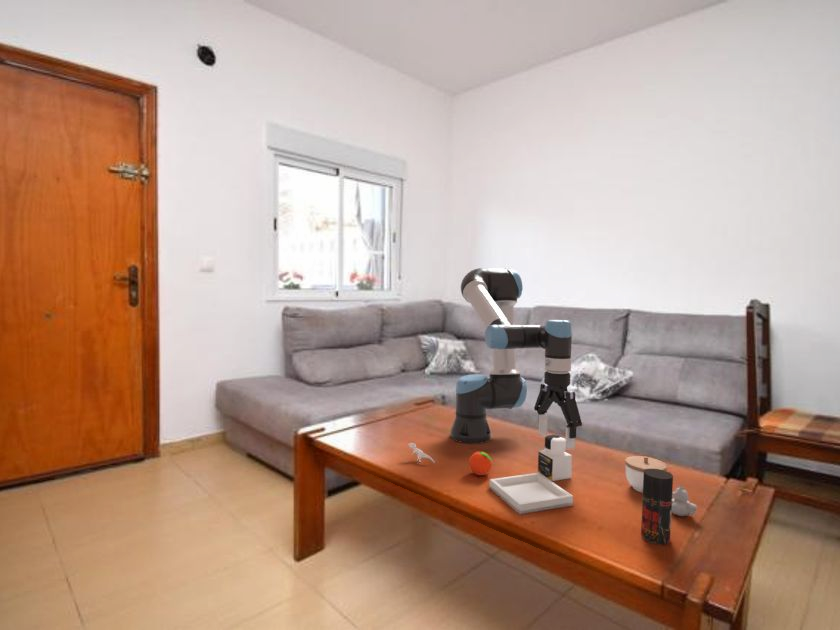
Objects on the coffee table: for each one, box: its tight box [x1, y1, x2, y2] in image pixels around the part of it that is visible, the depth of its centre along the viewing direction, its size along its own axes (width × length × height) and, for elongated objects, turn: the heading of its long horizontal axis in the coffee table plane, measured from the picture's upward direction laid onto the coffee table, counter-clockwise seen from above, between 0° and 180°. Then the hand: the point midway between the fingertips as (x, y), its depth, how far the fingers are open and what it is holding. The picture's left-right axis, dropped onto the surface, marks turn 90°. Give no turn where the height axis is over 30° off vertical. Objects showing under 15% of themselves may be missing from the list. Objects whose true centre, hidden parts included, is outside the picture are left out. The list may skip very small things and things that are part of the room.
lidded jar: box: [624, 455, 668, 494], centre depth 131 cm, size 11×11×9 cm
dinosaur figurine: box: [407, 442, 436, 464], centre depth 150 cm, size 15×12×6 cm
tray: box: [489, 472, 574, 515], centre depth 126 cm, size 16×16×2 cm
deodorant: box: [640, 469, 674, 546], centre depth 105 cm, size 6×6×15 cm
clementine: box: [468, 450, 493, 476], centre depth 140 cm, size 8×7×7 cm
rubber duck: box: [671, 484, 698, 517], centre depth 116 cm, size 5×7×8 cm
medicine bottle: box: [537, 434, 573, 482], centre depth 140 cm, size 7×7×12 cm
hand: (555, 441), depth 139 cm, fingers open, 13 cm apart
